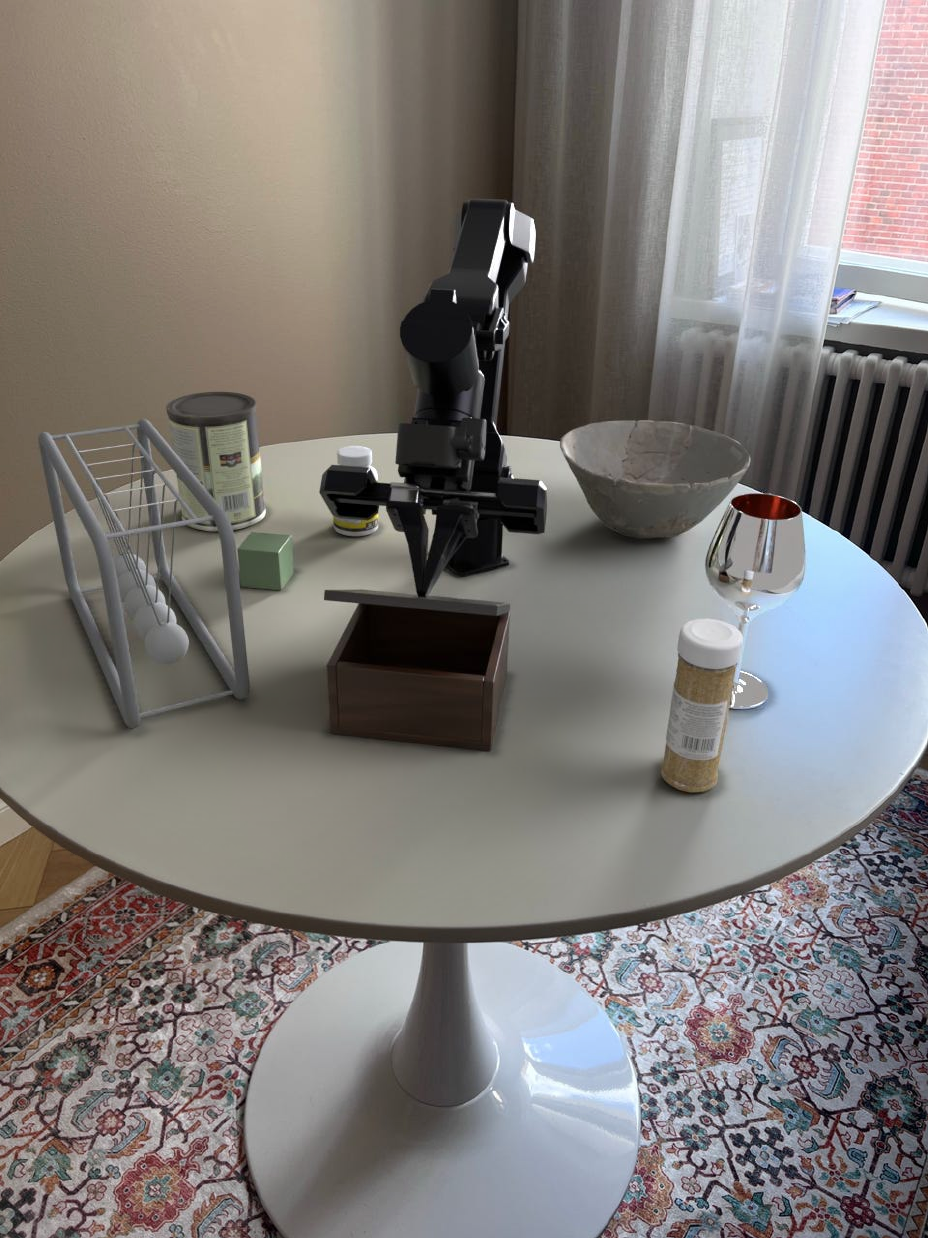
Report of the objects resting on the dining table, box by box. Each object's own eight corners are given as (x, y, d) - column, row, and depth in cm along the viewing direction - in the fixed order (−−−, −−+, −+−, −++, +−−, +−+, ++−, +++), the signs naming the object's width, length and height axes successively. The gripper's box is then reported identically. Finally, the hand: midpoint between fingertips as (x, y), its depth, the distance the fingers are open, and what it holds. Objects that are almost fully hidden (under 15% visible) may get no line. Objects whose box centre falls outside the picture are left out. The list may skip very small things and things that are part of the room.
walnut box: (490, 751, 81) (493, 681, 78) (330, 733, 83) (326, 665, 79) (506, 676, 91) (510, 611, 88) (363, 661, 93) (360, 598, 89)
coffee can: (223, 493, 128) (211, 385, 121) (283, 511, 123) (275, 400, 116) (162, 519, 120) (146, 406, 114) (224, 539, 116) (211, 423, 109)
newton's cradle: (253, 707, 86) (234, 519, 77) (130, 740, 81) (96, 544, 73) (166, 569, 109) (144, 412, 100) (66, 589, 104) (34, 426, 96)
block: (254, 568, 109) (251, 531, 107) (294, 572, 109) (291, 534, 107) (240, 587, 105) (236, 548, 103) (281, 590, 105) (278, 552, 103)
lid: (496, 616, 75) (497, 605, 75) (323, 600, 77) (324, 589, 77) (509, 611, 88) (510, 602, 88) (360, 598, 89) (361, 589, 89)
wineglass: (675, 666, 93) (702, 488, 84) (759, 664, 94) (795, 487, 85) (701, 716, 86) (733, 527, 77) (791, 713, 87) (833, 525, 78)
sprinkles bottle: (722, 769, 80) (749, 624, 73) (709, 802, 76) (737, 652, 69) (667, 753, 81) (688, 610, 75) (652, 785, 78) (673, 637, 71)
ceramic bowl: (673, 482, 135) (682, 410, 130) (775, 551, 116) (791, 470, 111) (524, 501, 128) (528, 427, 123) (608, 578, 109) (616, 494, 104)
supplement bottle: (371, 540, 116) (369, 461, 112) (327, 535, 117) (323, 456, 113) (384, 522, 121) (382, 445, 116) (341, 517, 122) (338, 441, 117)
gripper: (319, 369, 79) (286, 552, 75) (553, 383, 77) (532, 574, 72) (348, 433, 89) (320, 596, 85) (553, 447, 87) (536, 616, 83)
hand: (422, 595), depth 81 cm, fingers closed, pressing on lid
